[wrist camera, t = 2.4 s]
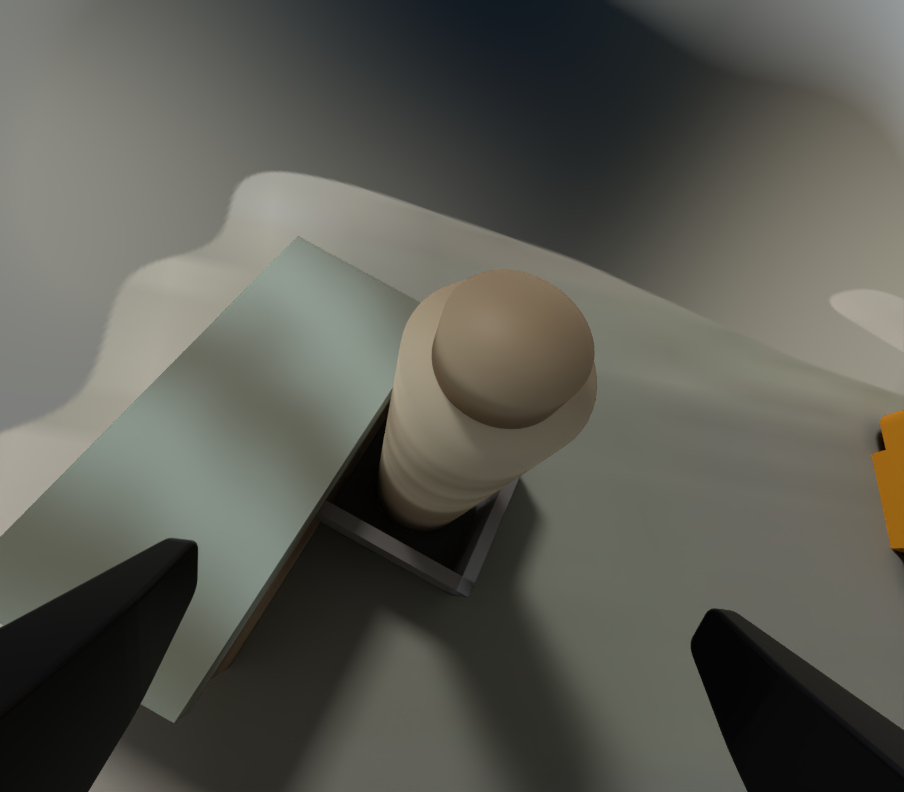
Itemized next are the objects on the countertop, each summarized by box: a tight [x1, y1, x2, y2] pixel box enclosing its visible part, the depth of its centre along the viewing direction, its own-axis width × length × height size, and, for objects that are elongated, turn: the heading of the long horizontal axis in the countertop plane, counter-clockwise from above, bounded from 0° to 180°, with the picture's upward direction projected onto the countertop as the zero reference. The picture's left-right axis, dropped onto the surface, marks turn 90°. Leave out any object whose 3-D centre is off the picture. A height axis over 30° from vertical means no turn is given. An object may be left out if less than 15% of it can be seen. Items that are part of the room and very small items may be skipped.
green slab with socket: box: [0, 236, 520, 723], centre depth 16 cm, size 15×12×5 cm
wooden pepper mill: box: [376, 270, 597, 534], centre depth 13 cm, size 4×4×13 cm
